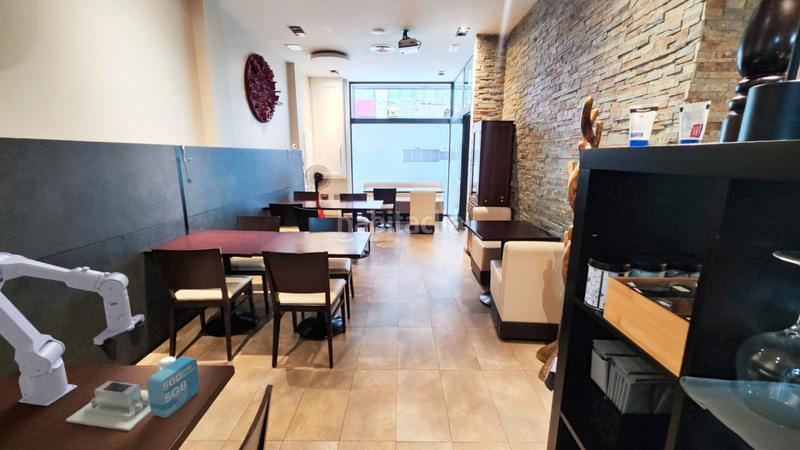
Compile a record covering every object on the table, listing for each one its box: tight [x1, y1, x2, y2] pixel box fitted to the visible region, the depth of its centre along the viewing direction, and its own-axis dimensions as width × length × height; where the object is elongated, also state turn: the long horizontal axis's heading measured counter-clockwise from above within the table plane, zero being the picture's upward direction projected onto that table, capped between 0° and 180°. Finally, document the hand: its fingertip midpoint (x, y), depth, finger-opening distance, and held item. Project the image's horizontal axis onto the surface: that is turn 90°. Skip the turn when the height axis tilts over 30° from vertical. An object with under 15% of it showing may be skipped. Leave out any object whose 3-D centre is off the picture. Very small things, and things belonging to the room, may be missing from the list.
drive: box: [94, 380, 142, 413], centre depth 91 cm, size 10×4×6 cm, turn 83°
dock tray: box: [65, 389, 151, 432], centre depth 91 cm, size 19×13×3 cm
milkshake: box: [157, 351, 178, 371], centre depth 101 cm, size 4×5×10 cm
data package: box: [146, 355, 201, 419], centre depth 93 cm, size 12×4×12 cm, turn 166°
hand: (124, 352), depth 101 cm, fingers open, 7 cm apart
